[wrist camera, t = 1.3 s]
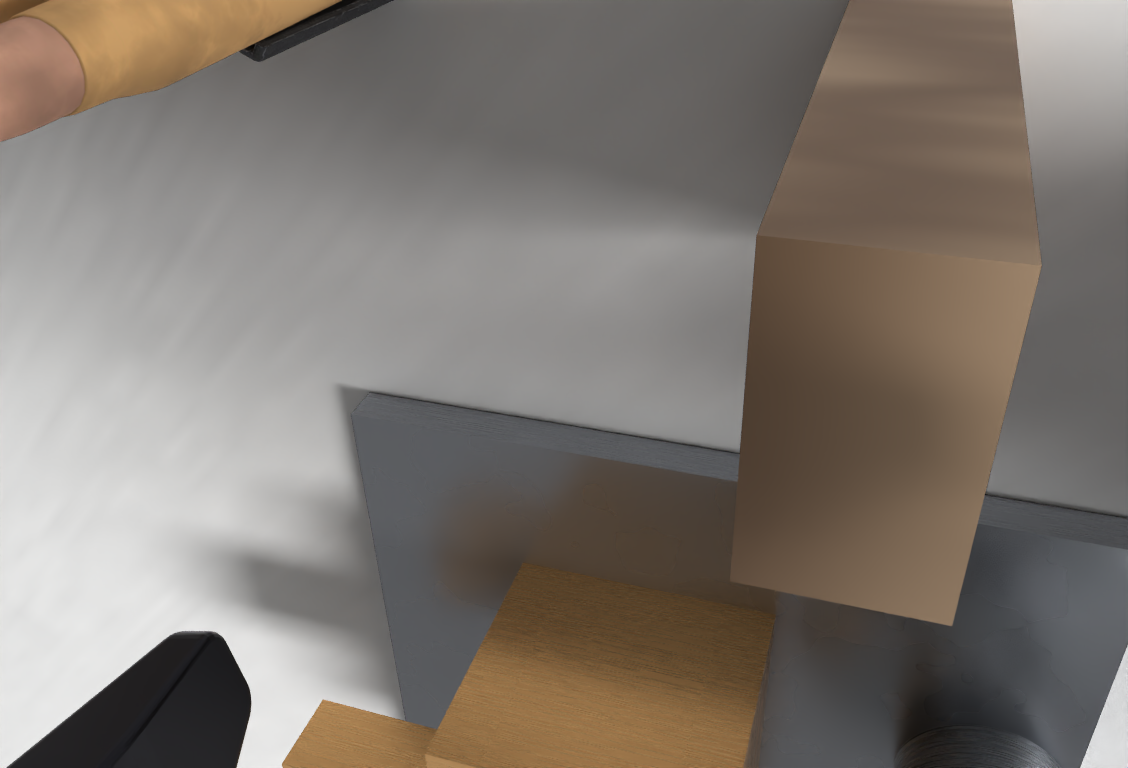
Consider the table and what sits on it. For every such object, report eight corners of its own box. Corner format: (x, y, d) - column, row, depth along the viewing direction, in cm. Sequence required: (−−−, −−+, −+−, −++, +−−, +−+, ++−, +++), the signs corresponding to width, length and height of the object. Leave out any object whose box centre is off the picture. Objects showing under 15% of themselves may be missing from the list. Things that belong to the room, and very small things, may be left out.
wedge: (1011, -6, 17) (1041, 265, 9) (961, 243, 19) (952, 626, 12) (854, -13, 18) (756, 234, 10) (826, 229, 20) (730, 581, 12)
